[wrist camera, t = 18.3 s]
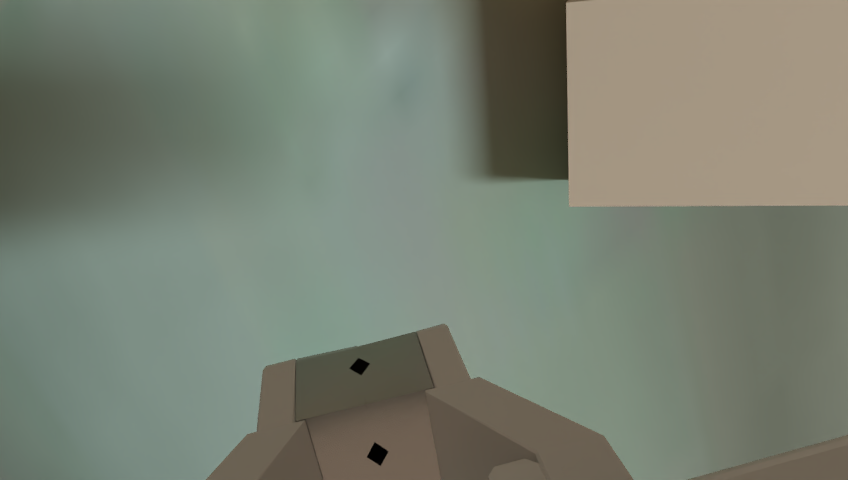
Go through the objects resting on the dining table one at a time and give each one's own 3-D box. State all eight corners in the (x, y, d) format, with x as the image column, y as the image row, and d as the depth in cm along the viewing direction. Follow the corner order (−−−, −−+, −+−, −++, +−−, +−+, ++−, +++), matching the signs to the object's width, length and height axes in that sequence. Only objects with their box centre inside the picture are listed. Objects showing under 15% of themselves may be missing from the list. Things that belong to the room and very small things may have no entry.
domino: (569, 206, 16) (992, 204, 13) (566, 2, 14) (1066, -49, 11) (573, 180, 17) (948, 174, 15) (571, -4, 15) (1004, -49, 13)
